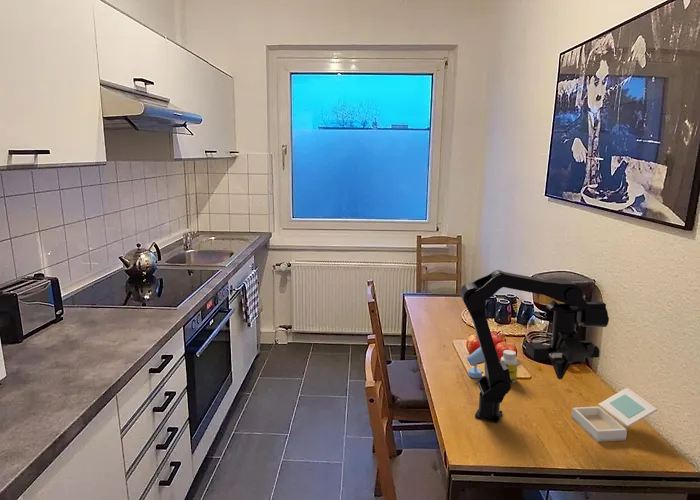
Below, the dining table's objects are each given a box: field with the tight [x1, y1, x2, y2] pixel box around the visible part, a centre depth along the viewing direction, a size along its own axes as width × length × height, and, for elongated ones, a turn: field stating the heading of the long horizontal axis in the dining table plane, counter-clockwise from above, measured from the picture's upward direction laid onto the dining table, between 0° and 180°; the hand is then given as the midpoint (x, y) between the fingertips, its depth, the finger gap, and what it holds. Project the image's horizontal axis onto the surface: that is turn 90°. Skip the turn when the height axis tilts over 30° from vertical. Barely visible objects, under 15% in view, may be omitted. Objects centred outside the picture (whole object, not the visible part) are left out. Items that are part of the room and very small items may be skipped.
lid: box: [598, 387, 658, 429], centre depth 129 cm, size 9×12×1 cm
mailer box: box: [571, 405, 628, 443], centre depth 129 cm, size 8×12×3 cm, turn 5°
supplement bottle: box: [499, 349, 519, 383], centre depth 157 cm, size 5×5×10 cm
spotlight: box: [466, 346, 485, 379], centre depth 160 cm, size 5×10×7 cm
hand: (559, 378), depth 132 cm, fingers closed
